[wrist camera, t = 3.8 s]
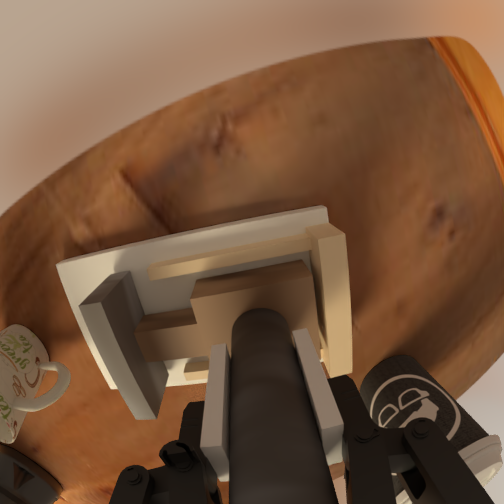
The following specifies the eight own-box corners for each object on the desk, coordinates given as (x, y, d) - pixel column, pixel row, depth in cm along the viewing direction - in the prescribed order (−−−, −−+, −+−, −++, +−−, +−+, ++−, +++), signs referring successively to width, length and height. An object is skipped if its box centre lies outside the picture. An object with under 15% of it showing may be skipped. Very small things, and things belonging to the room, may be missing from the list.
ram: (151, 376, 22) (97, 555, 6) (110, 274, 19) (-40, 447, 4) (313, 351, 22) (382, 547, 6) (298, 237, 19) (450, 448, 4)
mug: (-10, 314, 21) (-66, 362, 12) (70, 307, 21) (5, 377, 12) (21, 378, 24) (-20, 433, 14) (104, 384, 24) (67, 462, 14)
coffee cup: (337, 421, 26) (378, 542, 12) (353, 348, 23) (431, 492, 9) (415, 404, 27) (472, 500, 12) (440, 334, 24) (531, 433, 9)
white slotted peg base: (114, 380, 24) (99, 412, 19) (63, 259, 20) (32, 280, 16) (336, 349, 23) (352, 382, 19) (321, 204, 20) (343, 216, 16)
